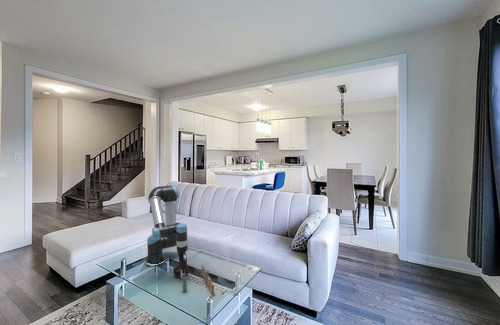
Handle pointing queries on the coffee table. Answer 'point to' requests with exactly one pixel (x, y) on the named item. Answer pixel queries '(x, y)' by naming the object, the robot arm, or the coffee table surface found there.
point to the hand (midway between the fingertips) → (183, 277)
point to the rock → (178, 270)
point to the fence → (210, 285)
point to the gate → (204, 273)
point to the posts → (184, 281)
